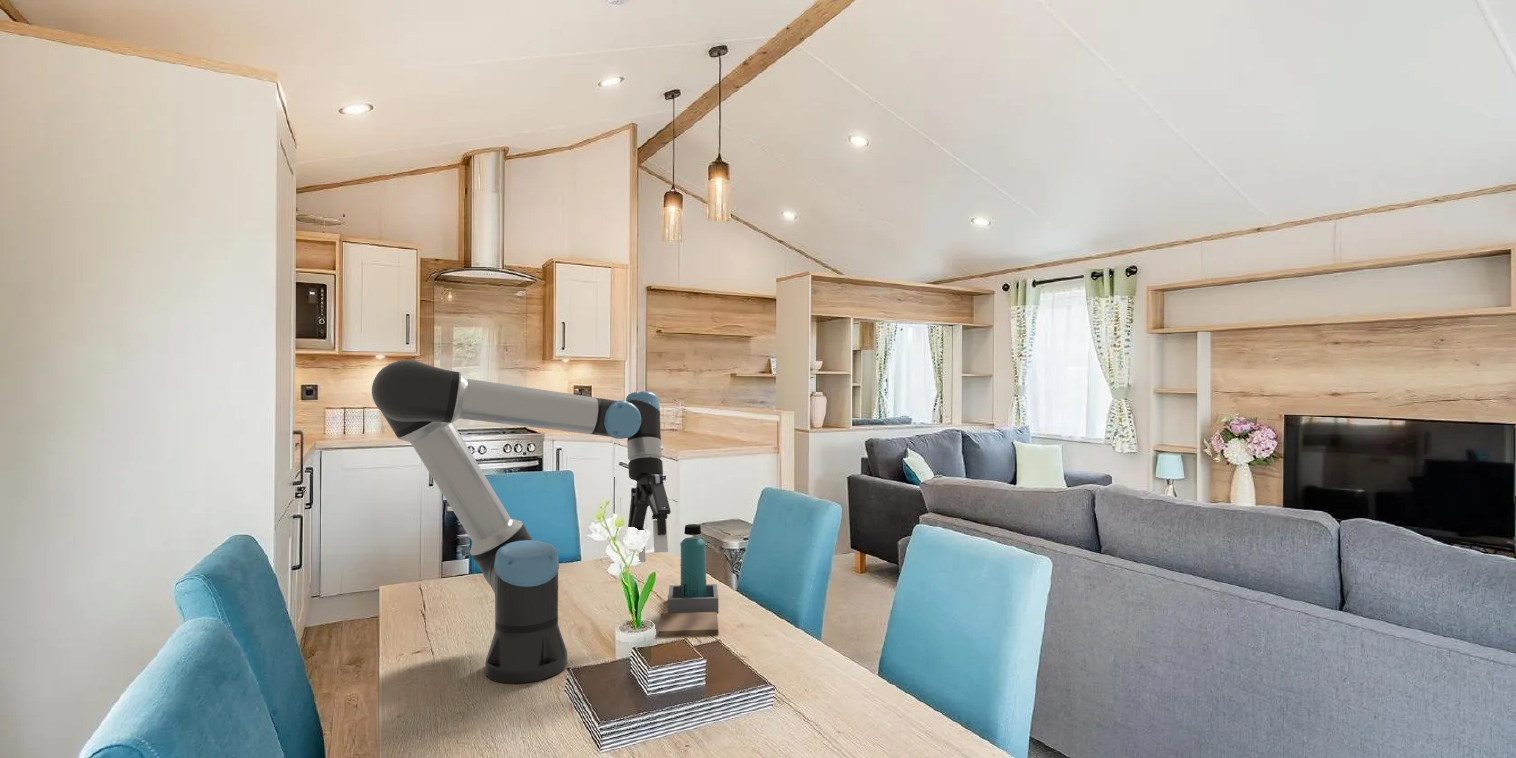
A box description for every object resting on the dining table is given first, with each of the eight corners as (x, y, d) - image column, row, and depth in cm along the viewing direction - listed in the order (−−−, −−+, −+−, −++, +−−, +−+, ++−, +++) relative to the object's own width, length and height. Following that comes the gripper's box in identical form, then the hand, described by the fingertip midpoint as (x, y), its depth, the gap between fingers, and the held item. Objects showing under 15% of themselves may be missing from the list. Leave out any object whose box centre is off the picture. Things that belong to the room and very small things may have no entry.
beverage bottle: (711, 604, 181) (711, 523, 181) (695, 611, 175) (695, 528, 175) (690, 600, 184) (690, 521, 184) (674, 607, 179) (674, 525, 179)
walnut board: (658, 636, 158) (658, 631, 158) (660, 618, 170) (660, 613, 170) (718, 634, 160) (718, 629, 160) (716, 616, 171) (716, 611, 171)
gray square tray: (667, 614, 173) (667, 599, 173) (669, 599, 185) (669, 585, 185) (718, 612, 174) (718, 598, 174) (716, 597, 186) (716, 584, 186)
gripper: (682, 445, 155) (688, 546, 147) (642, 474, 175) (646, 564, 167) (648, 444, 151) (653, 547, 144) (612, 473, 171) (614, 566, 164)
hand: (649, 557), depth 156 cm, fingers open, 13 cm apart
